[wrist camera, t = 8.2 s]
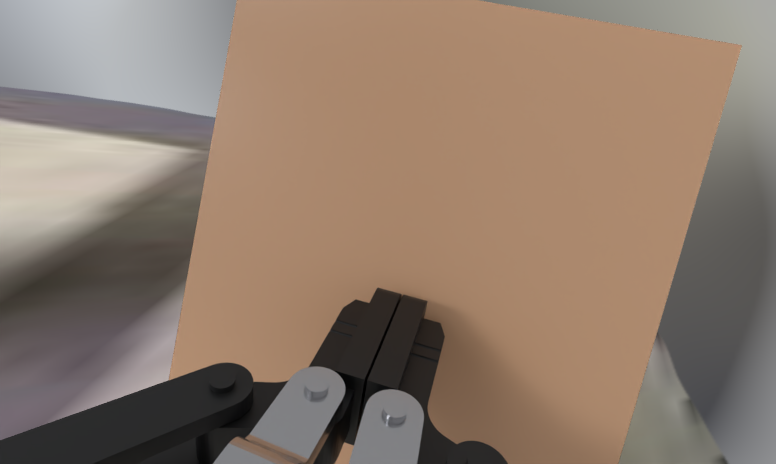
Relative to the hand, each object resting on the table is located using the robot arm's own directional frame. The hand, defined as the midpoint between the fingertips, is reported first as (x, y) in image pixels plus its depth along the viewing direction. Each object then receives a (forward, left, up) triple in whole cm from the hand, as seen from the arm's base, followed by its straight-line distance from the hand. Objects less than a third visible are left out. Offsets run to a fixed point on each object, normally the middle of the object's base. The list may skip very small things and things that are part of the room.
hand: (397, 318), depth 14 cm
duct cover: (+1, +1, 0) cm, 2 cm away
